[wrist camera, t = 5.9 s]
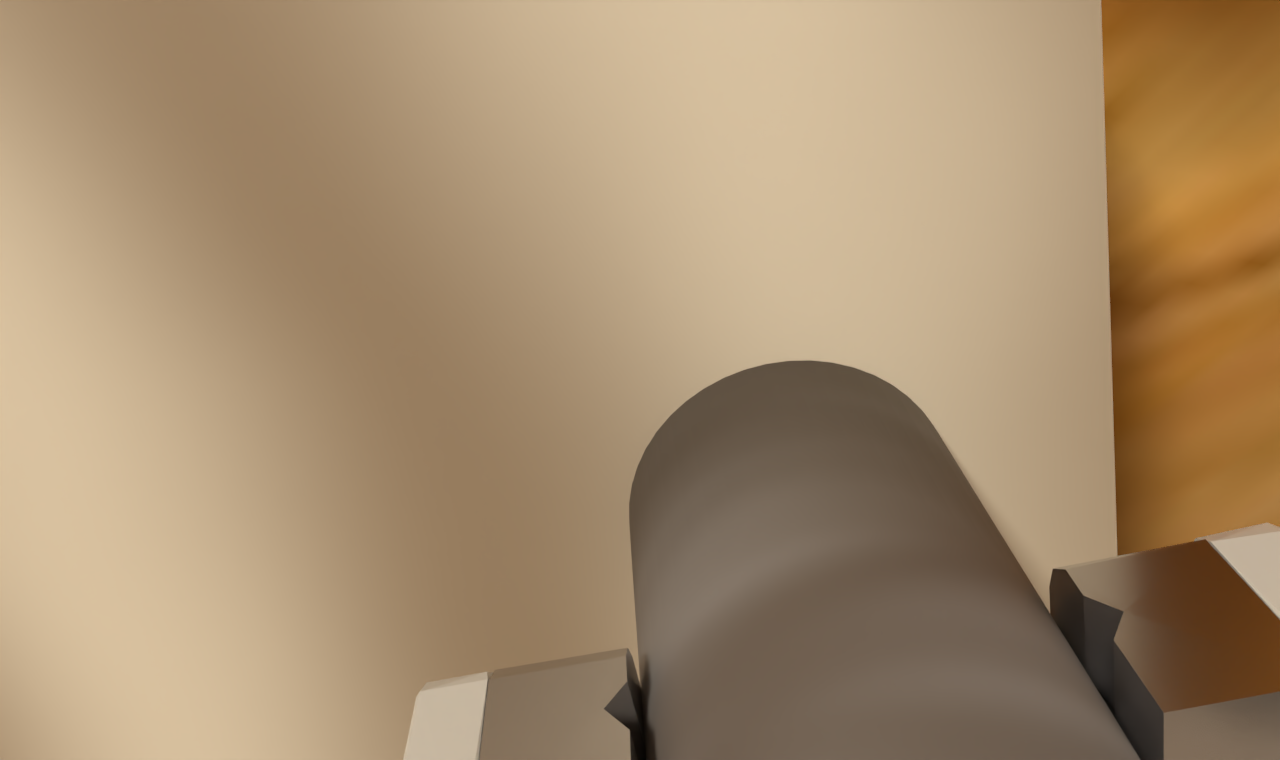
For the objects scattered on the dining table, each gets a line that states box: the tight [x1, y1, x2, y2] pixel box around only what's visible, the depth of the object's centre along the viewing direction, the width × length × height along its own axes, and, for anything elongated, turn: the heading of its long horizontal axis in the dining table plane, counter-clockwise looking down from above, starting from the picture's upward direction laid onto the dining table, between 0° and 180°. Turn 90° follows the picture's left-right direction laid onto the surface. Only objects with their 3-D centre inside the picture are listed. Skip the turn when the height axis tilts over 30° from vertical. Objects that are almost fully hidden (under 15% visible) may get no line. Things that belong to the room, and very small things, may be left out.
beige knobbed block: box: [0, 0, 1141, 760], centre depth 11 cm, size 12×14×13 cm
